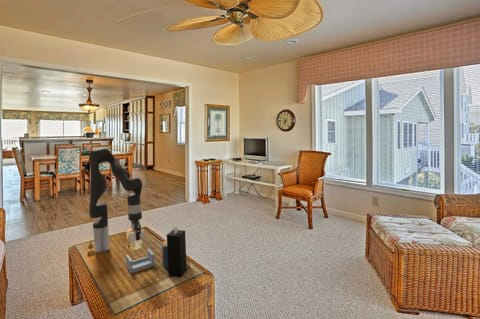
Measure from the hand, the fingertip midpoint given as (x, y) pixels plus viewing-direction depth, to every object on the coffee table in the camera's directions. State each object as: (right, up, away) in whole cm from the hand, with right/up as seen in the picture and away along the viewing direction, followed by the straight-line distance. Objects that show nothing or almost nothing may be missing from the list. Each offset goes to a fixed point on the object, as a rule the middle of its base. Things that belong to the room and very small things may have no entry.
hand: (136, 238), depth 157 cm
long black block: (+26, -19, -6) cm, 33 cm away
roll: (+1, -1, -1) cm, 2 cm away
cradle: (+1, -18, +3) cm, 18 cm away
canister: (+21, -18, +5) cm, 28 cm away
